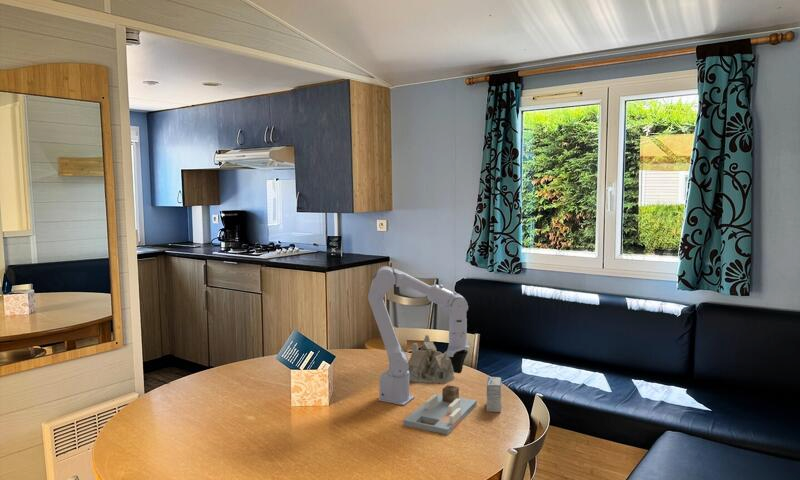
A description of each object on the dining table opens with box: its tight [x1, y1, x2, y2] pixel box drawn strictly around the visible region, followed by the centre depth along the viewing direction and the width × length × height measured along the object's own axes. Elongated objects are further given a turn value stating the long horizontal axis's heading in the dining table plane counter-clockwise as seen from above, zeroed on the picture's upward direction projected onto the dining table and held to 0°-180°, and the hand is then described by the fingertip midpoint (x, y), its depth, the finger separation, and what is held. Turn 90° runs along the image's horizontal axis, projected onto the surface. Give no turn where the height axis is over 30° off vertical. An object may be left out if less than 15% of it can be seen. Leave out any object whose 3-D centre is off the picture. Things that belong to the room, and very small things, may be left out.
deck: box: [403, 392, 478, 436], centre depth 171 cm, size 14×24×4 cm, turn 153°
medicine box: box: [486, 376, 503, 413], centre depth 176 cm, size 8×4×9 cm, turn 168°
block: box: [441, 384, 460, 403], centre depth 178 cm, size 4×4×4 cm
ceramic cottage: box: [407, 334, 456, 384], centre depth 204 cm, size 16×16×15 cm
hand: (457, 372), depth 183 cm, fingers closed
